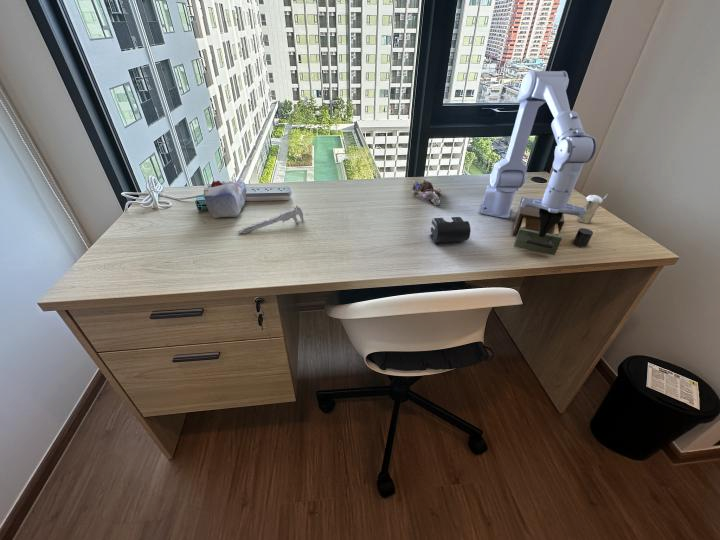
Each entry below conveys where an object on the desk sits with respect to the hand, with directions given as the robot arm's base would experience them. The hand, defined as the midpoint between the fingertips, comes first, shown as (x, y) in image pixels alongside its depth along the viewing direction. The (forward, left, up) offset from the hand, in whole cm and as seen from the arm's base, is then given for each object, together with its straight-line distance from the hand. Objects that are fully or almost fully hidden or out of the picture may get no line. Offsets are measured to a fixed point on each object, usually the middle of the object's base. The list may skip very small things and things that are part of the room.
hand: (541, 235), depth 90 cm
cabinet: (0, +17, -7) cm, 18 cm away
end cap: (-24, -2, -7) cm, 25 cm away
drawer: (0, +5, -6) cm, 8 cm away
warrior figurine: (-38, +27, -8) cm, 47 cm away
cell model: (-99, -13, -8) cm, 100 cm away
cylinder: (+13, +14, -7) cm, 20 cm away
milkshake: (+16, +31, -7) cm, 36 cm away
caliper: (-77, -18, -7) cm, 79 cm away
